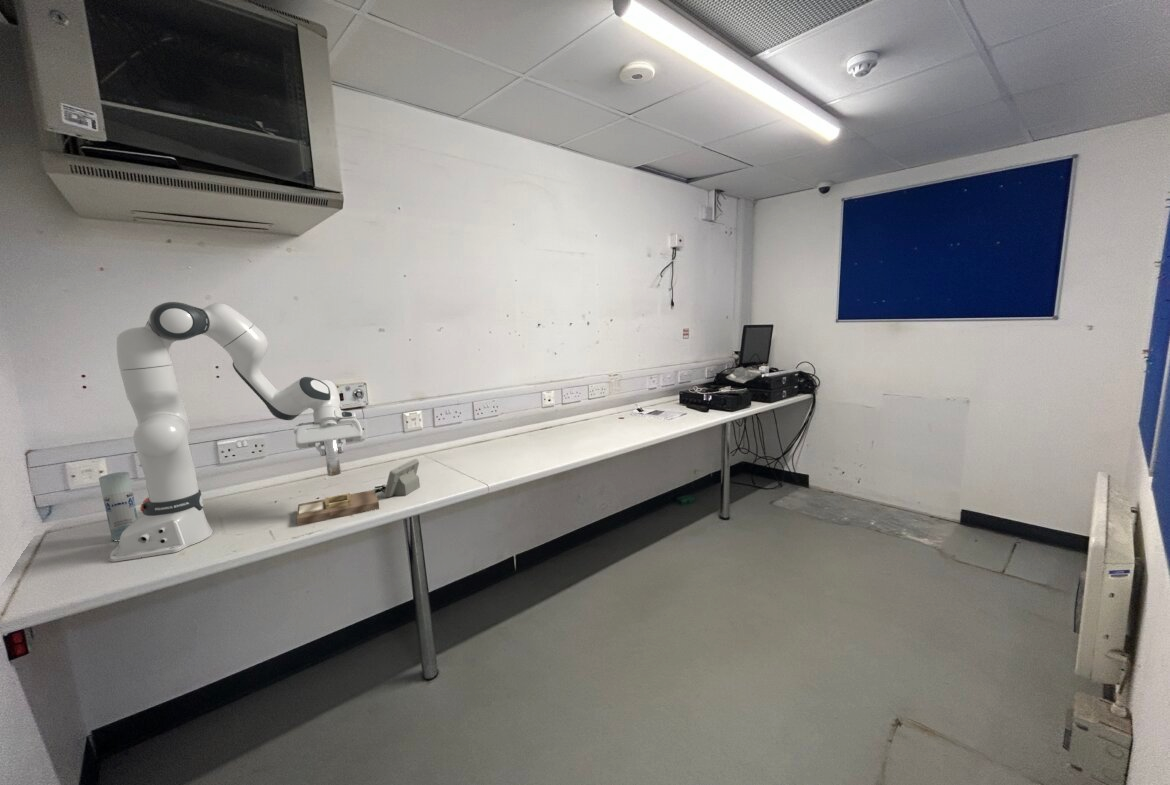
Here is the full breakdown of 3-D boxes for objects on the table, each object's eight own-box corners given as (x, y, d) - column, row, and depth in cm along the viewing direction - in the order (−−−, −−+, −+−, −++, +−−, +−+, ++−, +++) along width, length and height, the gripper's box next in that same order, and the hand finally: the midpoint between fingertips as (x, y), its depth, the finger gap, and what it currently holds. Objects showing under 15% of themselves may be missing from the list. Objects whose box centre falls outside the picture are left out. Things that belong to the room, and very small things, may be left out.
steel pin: (327, 476, 152) (323, 441, 150) (327, 473, 155) (323, 439, 153) (341, 474, 154) (337, 440, 152) (340, 471, 157) (337, 437, 155)
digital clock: (412, 482, 182) (409, 457, 181) (428, 485, 178) (426, 459, 177) (378, 497, 168) (375, 469, 166) (395, 500, 164) (392, 472, 162)
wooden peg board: (297, 526, 145) (296, 514, 144) (299, 511, 157) (297, 500, 156) (379, 508, 157) (378, 497, 156) (374, 496, 169) (373, 485, 168)
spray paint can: (112, 537, 141) (99, 475, 138) (141, 530, 145) (129, 470, 142) (111, 544, 136) (98, 480, 133) (141, 536, 141) (129, 474, 138)
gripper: (292, 419, 152) (294, 454, 146) (359, 412, 163) (364, 444, 156) (294, 429, 157) (296, 463, 150) (360, 421, 167) (365, 453, 160)
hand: (332, 453), depth 153 cm, fingers closed on steel pin, 4 cm apart
